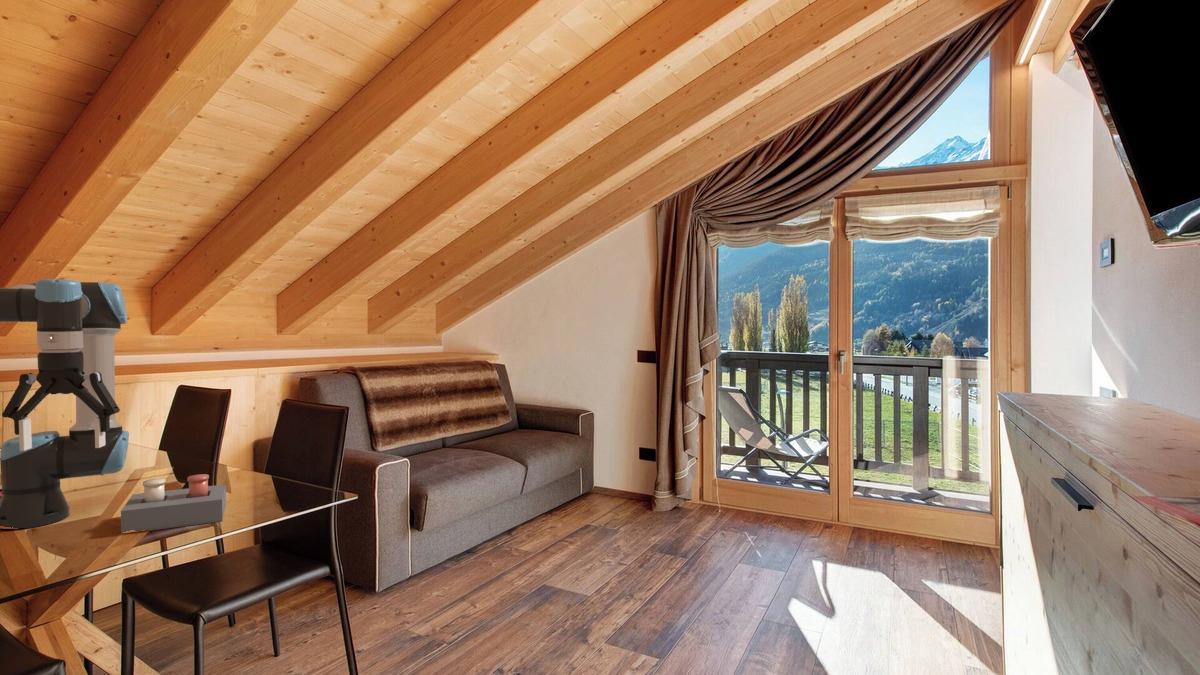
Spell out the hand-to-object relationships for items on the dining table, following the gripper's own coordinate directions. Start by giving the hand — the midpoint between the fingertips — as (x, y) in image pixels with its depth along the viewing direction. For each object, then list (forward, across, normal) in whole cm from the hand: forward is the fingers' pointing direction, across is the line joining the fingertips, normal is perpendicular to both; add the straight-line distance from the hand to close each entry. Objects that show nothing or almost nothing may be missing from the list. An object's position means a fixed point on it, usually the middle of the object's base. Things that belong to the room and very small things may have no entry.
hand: (63, 448), depth 135 cm
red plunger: (+23, +15, +33) cm, 43 cm away
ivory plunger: (+23, +5, +31) cm, 39 cm away
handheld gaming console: (+28, +6, +51) cm, 59 cm away
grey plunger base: (+27, +10, +32) cm, 43 cm away
